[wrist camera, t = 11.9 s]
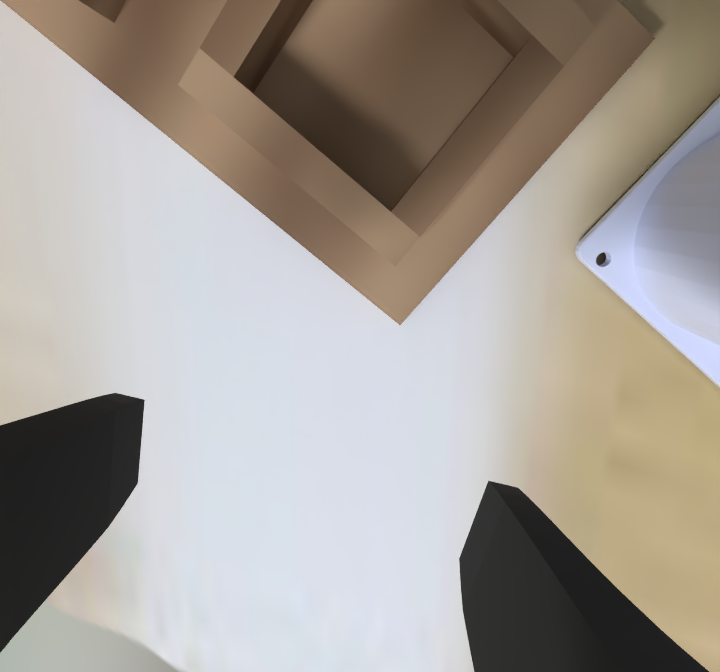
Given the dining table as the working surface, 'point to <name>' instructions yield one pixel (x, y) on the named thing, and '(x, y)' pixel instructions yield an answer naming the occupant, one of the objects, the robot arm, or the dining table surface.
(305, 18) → the walnut rack
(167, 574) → the dining table surface
